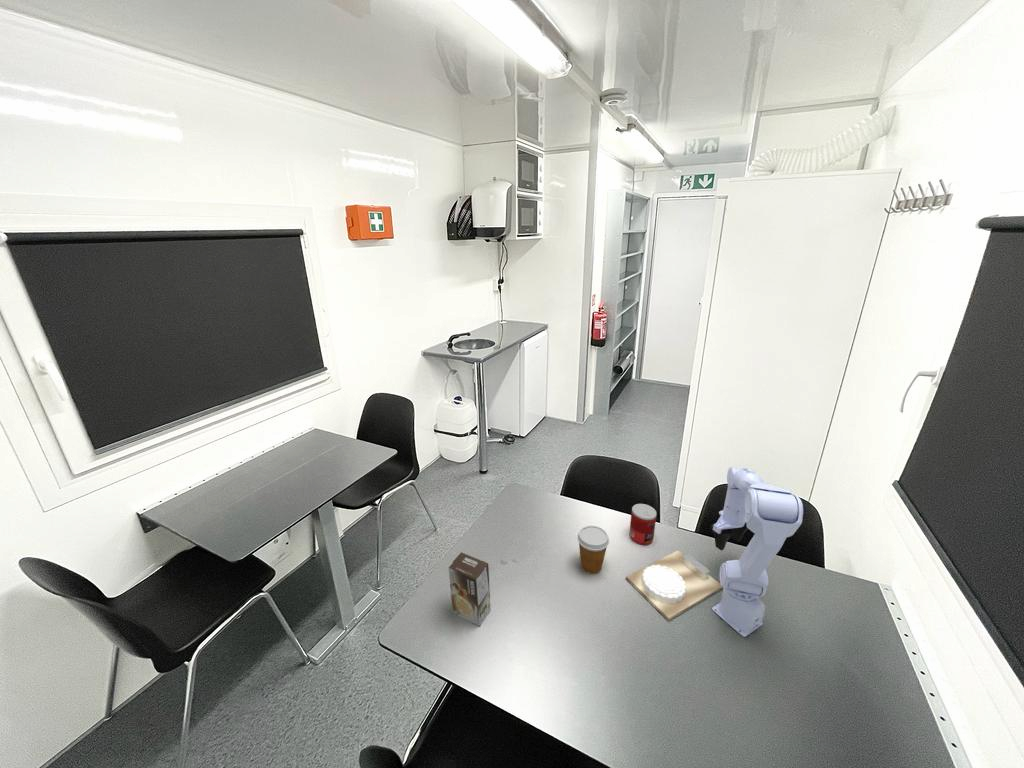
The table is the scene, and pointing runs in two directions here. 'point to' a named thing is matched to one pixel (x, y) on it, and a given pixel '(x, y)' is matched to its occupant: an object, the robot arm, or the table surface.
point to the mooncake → (663, 584)
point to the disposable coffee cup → (592, 548)
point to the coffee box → (470, 588)
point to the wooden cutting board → (695, 582)
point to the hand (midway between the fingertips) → (727, 543)
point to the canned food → (642, 524)
